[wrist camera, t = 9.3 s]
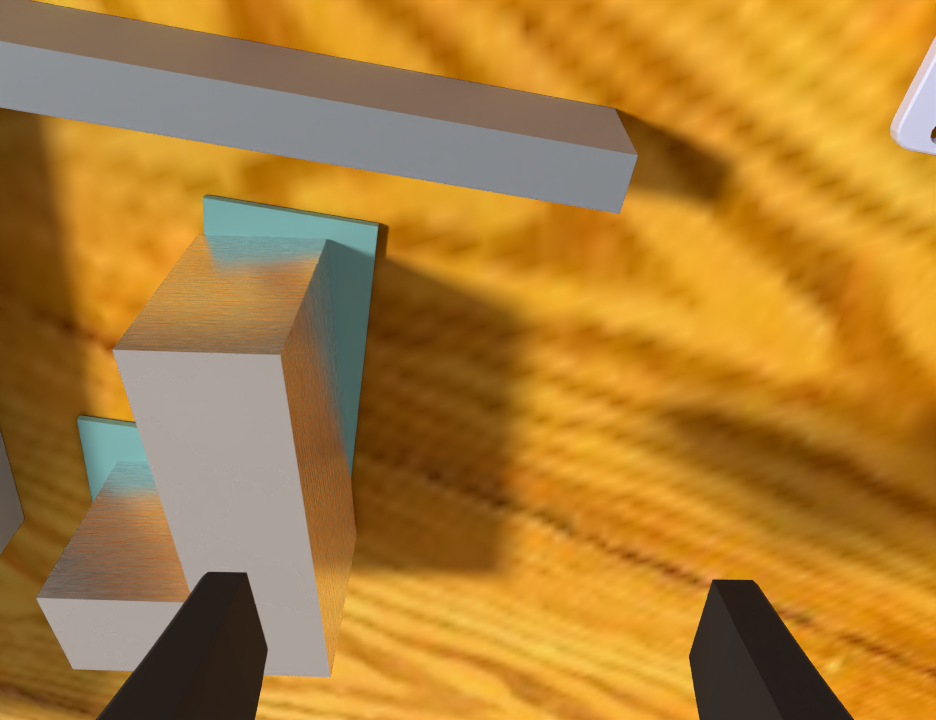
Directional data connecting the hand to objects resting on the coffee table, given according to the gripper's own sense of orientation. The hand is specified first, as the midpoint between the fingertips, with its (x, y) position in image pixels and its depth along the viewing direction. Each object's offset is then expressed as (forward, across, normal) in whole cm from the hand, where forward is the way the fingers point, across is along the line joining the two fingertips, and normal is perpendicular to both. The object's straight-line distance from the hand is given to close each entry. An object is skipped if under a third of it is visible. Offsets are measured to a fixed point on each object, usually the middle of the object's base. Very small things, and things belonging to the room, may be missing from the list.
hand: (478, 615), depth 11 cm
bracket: (+9, +8, +3) cm, 12 cm away
